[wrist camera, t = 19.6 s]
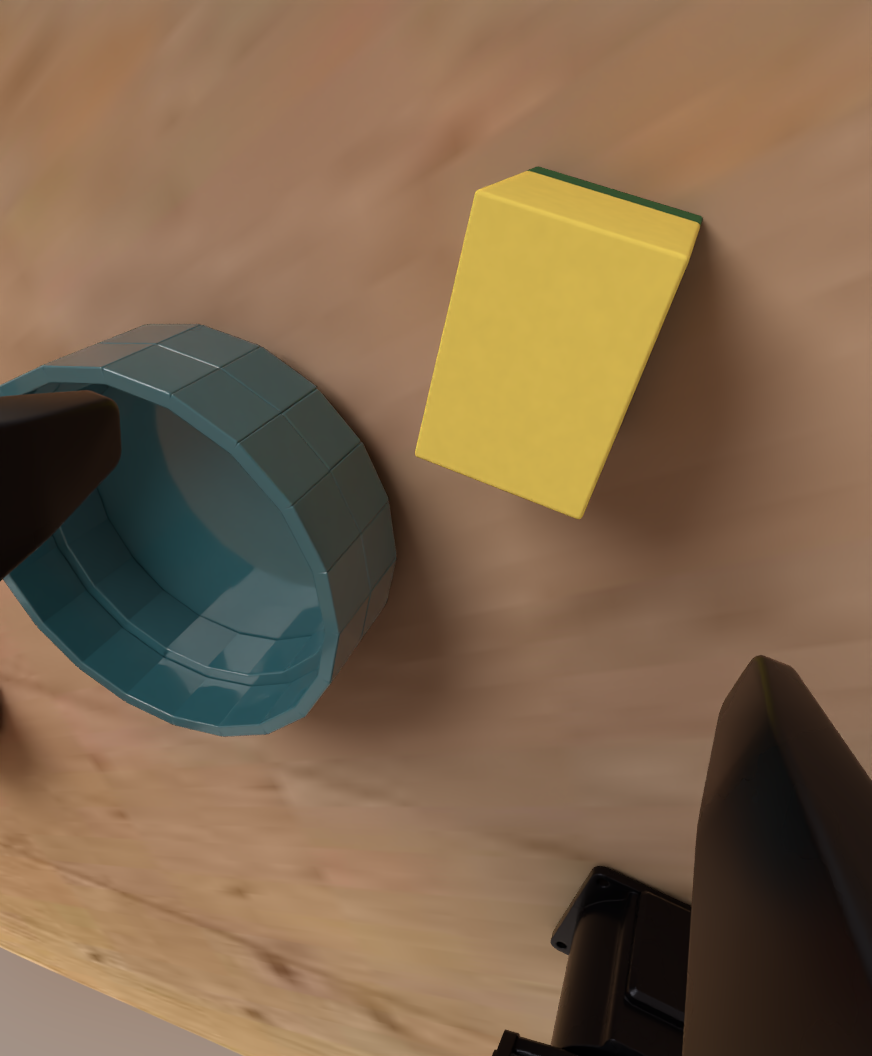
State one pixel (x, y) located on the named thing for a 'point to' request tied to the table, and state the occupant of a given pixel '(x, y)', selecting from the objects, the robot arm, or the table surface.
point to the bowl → (212, 534)
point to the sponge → (550, 332)
